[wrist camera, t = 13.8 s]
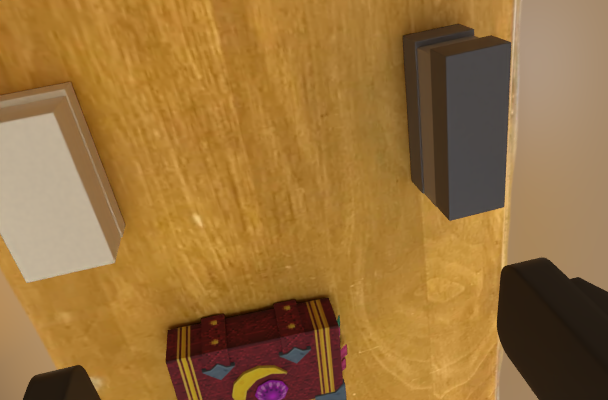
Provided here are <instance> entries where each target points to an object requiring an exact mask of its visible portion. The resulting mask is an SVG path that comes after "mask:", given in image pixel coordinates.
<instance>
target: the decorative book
mask: <svg viewBox="0 0 608 400" xmlns="http://www.w3.org/2000/svg"><path fill="white" fill-rule="evenodd" d="M273 305H274V309H269V310H264V311H259V312H254V313H249V314H244V315H239V316H234V317H230V318H225V317H224V314H221V315H216V316H211V317H206V318H201V323H200V324H195V325H190V326H185V327H180V328H176V329H171V330H168V334H167V350H166V364H167V367H168V370H169V374H170V377H171V380H172V383H173V386H174V389H175V393H176V396H177V399H178V400H346V389H345V382H344V379H343V376H342V371H343V370H344V369H345V368H346V359H344V360H343V361H342V362H341V360H342V359H343V358H344V357H345V356H346V355H347V344H346V345H345V346H344V347H343V348H342V349H341V350H340V337H339V336H340V317H339V316H338V319H337V320H336V317H335V315H334V312H333V309H332V306H331V304H330V301H329V298H323V299H318V300H313V301H308V302H303V303H298V304H297V303H296V300H290V301H285V302H280V303H275V304H273Z"/></svg>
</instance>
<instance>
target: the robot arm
mask: <svg viewBox="0 0 608 400" xmlns="http://www.w3.org/2000/svg"><path fill="white" fill-rule="evenodd" d="M497 330H498V335H499V339H500V342H501V344H502V346H503V349H504V351H505V352H506V354H507V356H508V357H509V359H510V360H511V361H512V363H513V364H514V365H515V367H516V368H517V370H518V371H519V372H520V374H521V375H522V377H523V378H524V379H525V381H526V382H527V384H528V385H529V386H530V388H531V389H532V391H533V392H534V393H535V395H536V396H537V398H538V399H539V400H608V292H607V291H605V290H603V289H601V288H599V287H597V286H595V285H593V284H591V283H589V282H587V281H585V280H583V279H581V278H579V277H577V278H573V279H569V278H568V277H567V276H566V275H565V274H563V272H562V271H561V270H559V269H558V268H557V267H556V266H555V265H554V264H553V263H552V262H551V261H550V260H548V259H546V258H537V259H533V260H528V261H524V262H521V263H516V264H511V265H507V266H505V267H503V269H502V271H501V277H500V290H499V302H498V315H497ZM23 400H101V399H100V397H99V395H98V393H97V391H96V389H95V387H94V385H93V384H92V382H91V380H90V378H89V376H88V374H87V372H86V370H85V369H84V368H83V367H82V366H80V365H76V366H72V367H68V368H64V369H59V370H55V371H51V372H47V373H43V374H38V375H35V376H34V377H33V378H32V379H31V380H30V382H29V385H28V387H27V390H26V392H25V395H24V398H23Z"/></svg>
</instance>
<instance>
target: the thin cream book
mask: <svg viewBox="0 0 608 400" xmlns="http://www.w3.org/2000/svg"><path fill="white" fill-rule="evenodd" d="M0 234H1V236H2V238H3V240H4V242H5V244H6V245H7V247H8V249H9V251H10V253H11V255H12V257H13V259H14V260H15V262H16V264H17V266H18V268H19V270H20V272H21V274H22V275H23V277H24V279H25V281H26V282H27V283H29V282H33V281H37V280H42V279H46V278H50V277H55V276H59V275H64V274H68V273H72V272H77V271H81V270H85V269H90V268H94V267H98V266H103V265H107V264H111V263H115V260H116V256H117V252H118V248H119V247H118V244H117V242H116V239H115V237H114V234H113V232H112V229H111V227H110V224H109V222H108V219H107V217H106V214H105V212H104V209H103V207H102V204H101V202H100V199H99V197H98V195H97V192H96V190H95V187H94V185H93V182H92V180H91V177H90V175H89V172H88V170H87V167H86V165H85V162H84V160H83V157H82V155H81V152H80V150H79V147H78V145H77V142H76V140H75V137H74V135H73V132H72V130H71V127H70V125H69V122H68V120H67V117H66V115H65V112H64V110H63V107H62V105H61V103H56V104H51V105H46V106H41V107H36V108H31V109H26V110H21V111H16V112H10V113H5V114H0Z"/></svg>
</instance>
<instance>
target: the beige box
mask: <svg viewBox="0 0 608 400" xmlns="http://www.w3.org/2000/svg"><path fill="white" fill-rule="evenodd" d="M56 103H61V105H62V107H63V110H64V112H65V115H66V117H67V120H68V122H69V125H70V127H71V130H72V132H73V135H74V137H75V140H76V142H77V145H78V147H79V150H80V152H81V155H82V157H83V160H84V162H85V165H86V167H87V170H88V172H89V175H90V177H91V180H92V182H93V185H94V187H95V190H96V192H97V195H98V197H99V199H100V202H101V204H102V207H103V209H104V212H105V214H106V217H107V219H108V222H109V224H110V227H111V229H112V232H113V234H114V237H115V239H116V242H117V244H118V247H119V244H120V240H121V237H123V233H124V229H125V223H124V220H123V218H122V215H121V212H120V210H119V207H118V205H117V202H116V199H115V197H114V194H113V191H112V189H111V186H110V184H109V181H108V178H107V176H106V173H105V171H104V168H103V165H102V163H101V160H100V157H99V155H98V152H97V150H96V147H95V144H94V142H93V139H92V137H91V134H90V131H89V129H88V126H87V123H86V121H85V118H84V116H83V113H82V110H81V108H80V105H79V103H78V100H77V97H76V95H75V92H74V89H73V87H72V84H71V82H67V83H62V84H57V85H52V86H47V87H41V88H36V89H31V90H26V91H21V92H15V93H10V94H5V95H0V114H5V113H10V112H16V111H21V110H26V109H31V108H36V107H41V106H46V105H51V104H56Z"/></svg>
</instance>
